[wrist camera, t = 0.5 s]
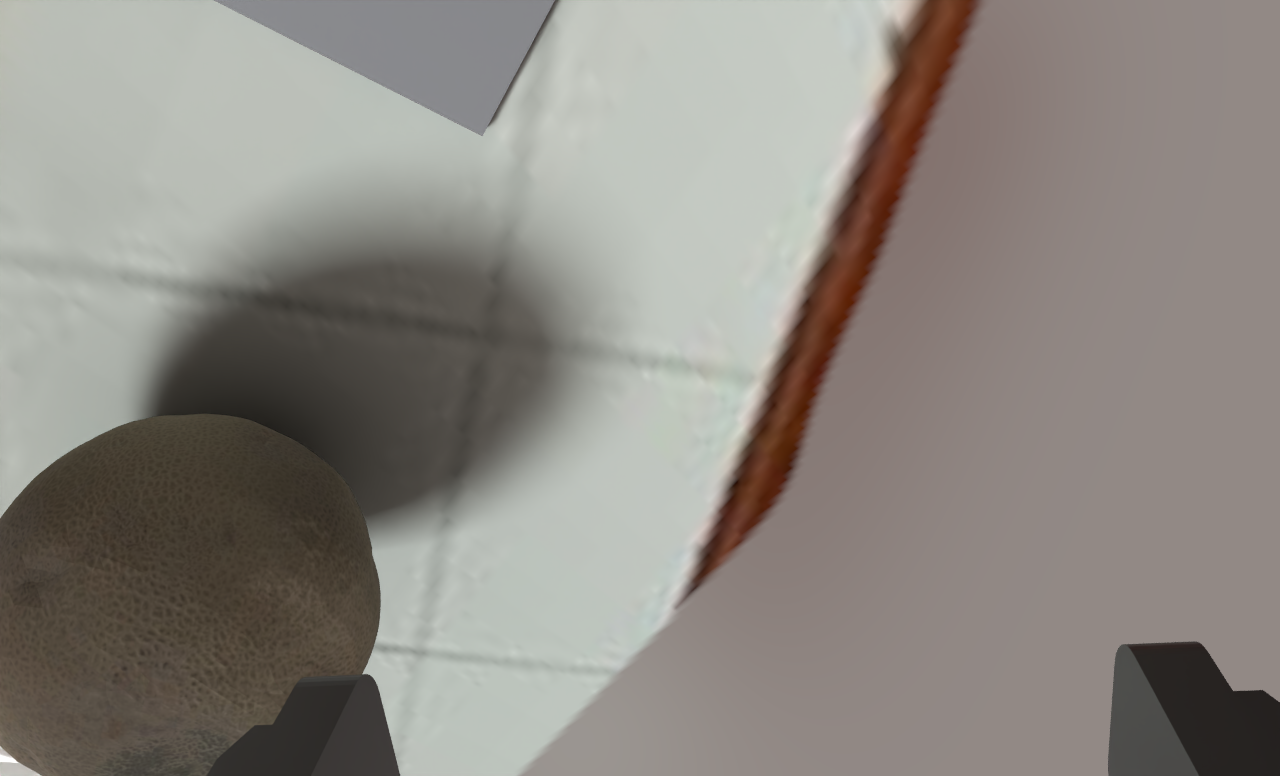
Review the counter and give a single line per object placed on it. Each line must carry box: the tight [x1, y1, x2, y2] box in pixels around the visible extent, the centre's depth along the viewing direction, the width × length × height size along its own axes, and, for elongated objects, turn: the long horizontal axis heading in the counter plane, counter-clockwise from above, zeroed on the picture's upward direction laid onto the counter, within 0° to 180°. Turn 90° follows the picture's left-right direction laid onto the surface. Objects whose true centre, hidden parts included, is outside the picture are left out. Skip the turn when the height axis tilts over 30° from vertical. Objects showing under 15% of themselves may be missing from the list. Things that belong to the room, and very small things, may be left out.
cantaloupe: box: [0, 414, 381, 776], centre depth 41 cm, size 14×14×15 cm
